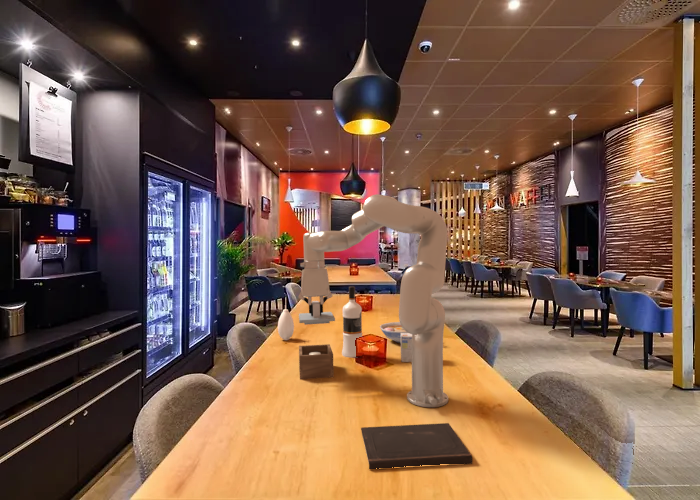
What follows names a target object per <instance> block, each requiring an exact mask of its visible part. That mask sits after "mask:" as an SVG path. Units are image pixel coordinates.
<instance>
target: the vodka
mask: <svg viewBox="0 0 700 500" xmlns="http://www.w3.org/2000/svg"><path fill="white" fill-rule="evenodd" d="M362 310H363V309H362V306H361V305H360V304H359V303H358V302H356V287H355V286H348V302H347V303H345V304H344V305H343V306H342V321H343V322H342V330H343V331H342V335H343V336H342V338H343V339H342V341H343V343H342V350H341V355H342V356H343V357H345V358H357V357H356V346H355V340H356V338H359V337H362V338H363V332H362V331H363V328H362V327H363V325H362V321H363V320H362V317H363V316H362V314H363V313H362Z"/></svg>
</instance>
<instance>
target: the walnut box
mask: <svg viewBox="0 0 700 500" xmlns="http://www.w3.org/2000/svg"><path fill="white" fill-rule="evenodd" d="M332 350H333V349H332V347H331V345H330V344H329V343H328V344H327V343H326V344H310V345H309V344H308V345H307V344H306V345H299V346H298V366H299V367H298V368H299V369H298V371H299V380H307V379H308V380H309V379H323V378H324V379H325V378H326V379H327V378H328V379H329V378H334V377H335V376H334V353H333V351H332ZM311 352H320V353H321V354H315V355H309V353H311Z"/></svg>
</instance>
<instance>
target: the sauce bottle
mask: <svg viewBox="0 0 700 500" xmlns="http://www.w3.org/2000/svg"><path fill="white" fill-rule="evenodd" d="M294 330H295V325H294V319H293V317H292V315H291V313H290V311H289V309H287V305H286V304H285V305H284V309H283V310H282V312H281V314H280V316H279V318H278V322H277V332H278V335H279V337H280V338H281V339H282V340H284V341H289V340H290V339H291V338H292V337H293V334H294Z"/></svg>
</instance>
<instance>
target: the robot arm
mask: <svg viewBox="0 0 700 500" xmlns="http://www.w3.org/2000/svg"><path fill="white" fill-rule="evenodd" d="M383 227H385V228H388V229H391V230H393V231H396V232H400V233H403V234H409V235H410V234H419V235H420V241H419V242H418V243H419V244H418V248H417V258H416V259H417V260H416V264H413V265H411V266H409V267H408V268H407V269H406V270H405V271H404V273H403V275H402V278H401V283H400V291H399V303H398V305H399V307H398V319H399V321H398V322H400V324H401V326H402V328H403V329H404V330H405V331H406V332H408V333H410V334H412V362H411V390H410V391H408V392H407V393H406V399H407V401H408V402H410V403H411V405H416V406H418V407H422V408H423V407H424V408H438V407H442V406H446V405H447V404H448V403H449V395H448V394H447V393H445V392H444V329H445V324H446V323H445V322H446V311H445V308H444V306H443V303H441V302H440V301H439V300H438V299H437V298H435V297H432V296H433V294H436V293H438V292H440V291H441V290H442V289H443V287H444V283H445V275H446V274H445V272H446V262H447V261H446V260H447V259H446V258H447V245H448V244H447V243H448V227H447V224H446V222H445V220H444V218H443V217H442V216H441V214H439V213H438V212H437V211H435V210H433V209H432V208H429V207H426V206H421V205H413V204H408V203H405V202H401V201H399V200H397V199H396V198H395V197H392V196H391V195H390V196H389V195H384V194H377V193H376V194H372V195H370V196H368V197H367V198H366V200H364V203H363V206H362V209H360V210H358V211H356V212H355V213H353V215H352V216H351V224H350V225H349V226H346V227H345V228H343V229H342V230H322V231H318V232H317V231H316V232H315V231H314V232H313V231H312V232H306V233H303V238H302V239H303V241H302V242H303V262H300V263H299V264H300V267H301V268H304V269H302V270H301V271H302V272H301V283H300V284H301V290H300V292H299V295H298V299H299V300H301V301H303V302H305V303H306V304H307V305H308V313H311V316H313V305H312V299H313V298H315V297H316V298H317V297H319V303H320V315H321V313H323V312H324V304H325V302H326V301H327V300H329V299H331V298H332V297H333V294H332V292H331V290H330V283H329V282H330V281H329V273H328V272H329V271H328V269H327V268H326V266H325V253H330V252H342V251H346V250H348V249H350V248H353V246H355V245H358V244H359V243H360V242H362V241H363V240H364V239H365V238H366V237H367V236H368V235H370V234H372V233H374V232H375V231H377V230H379V229H381V228H383ZM312 297H313V298H312Z"/></svg>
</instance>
